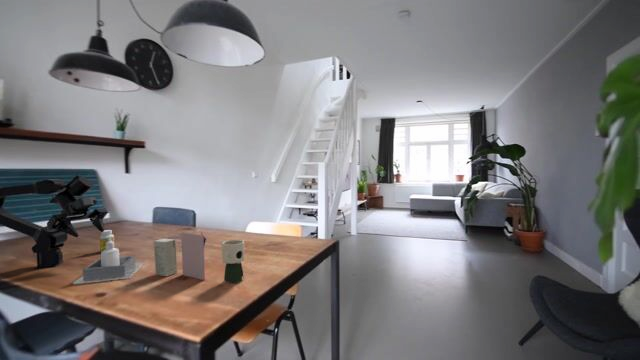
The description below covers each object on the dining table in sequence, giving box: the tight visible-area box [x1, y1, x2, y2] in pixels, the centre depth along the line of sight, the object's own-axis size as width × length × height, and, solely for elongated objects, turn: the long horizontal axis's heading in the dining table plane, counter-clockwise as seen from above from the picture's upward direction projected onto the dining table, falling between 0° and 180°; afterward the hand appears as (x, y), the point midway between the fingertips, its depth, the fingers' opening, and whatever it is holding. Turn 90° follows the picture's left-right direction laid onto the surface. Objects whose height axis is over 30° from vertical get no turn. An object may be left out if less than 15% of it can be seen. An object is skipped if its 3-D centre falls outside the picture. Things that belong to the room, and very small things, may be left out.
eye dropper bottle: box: [100, 239, 120, 267], centre depth 103 cm, size 4×6×12 cm
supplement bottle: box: [99, 229, 116, 253], centre depth 132 cm, size 5×5×10 cm
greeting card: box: [181, 229, 207, 281], centre depth 99 cm, size 11×7×15 cm, turn 26°
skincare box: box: [153, 238, 178, 277], centre depth 102 cm, size 6×4×12 cm
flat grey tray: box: [72, 255, 144, 286], centre depth 103 cm, size 16×16×4 cm
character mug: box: [221, 239, 246, 283], centre depth 95 cm, size 11×7×13 cm, turn 171°
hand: (91, 233), depth 109 cm, fingers open, 9 cm apart
